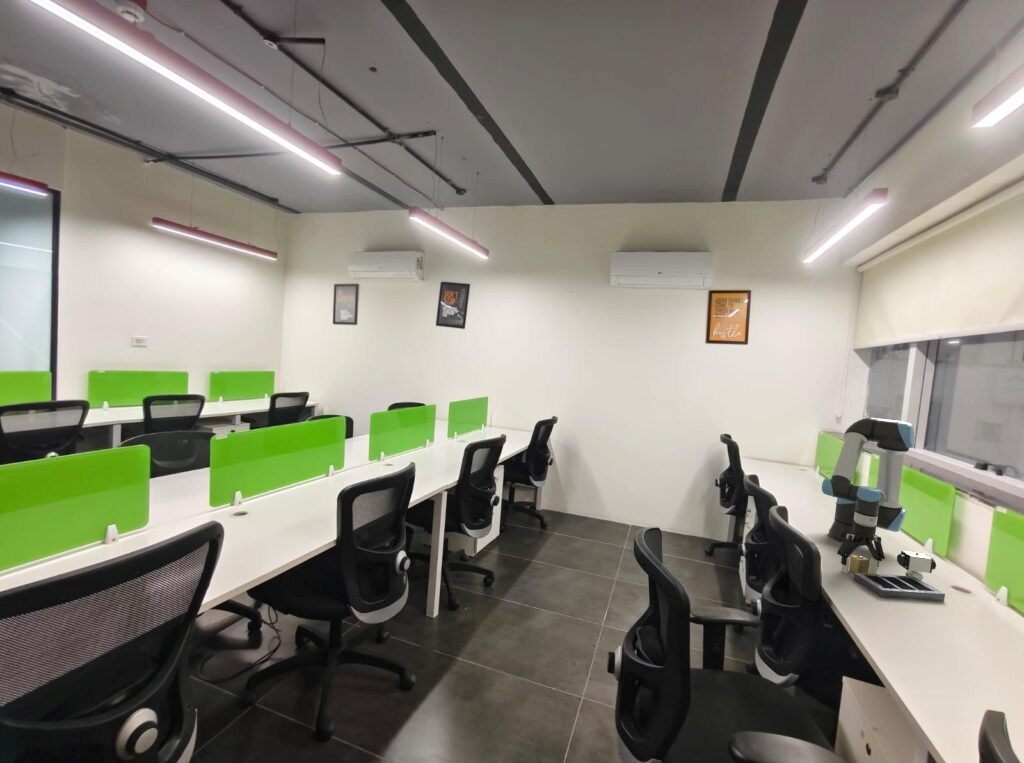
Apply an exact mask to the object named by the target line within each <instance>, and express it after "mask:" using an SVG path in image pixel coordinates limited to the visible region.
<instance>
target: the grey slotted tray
mask: <svg viewBox="0 0 1024 763" xmlns="http://www.w3.org/2000/svg"><path fill="white" fill-rule="evenodd" d="M853 581H855V582H856V583H858V584H860V585H861V586H862V587H864V588H865V589H867V590H868V591H870V592H872V593H873V594H874V595H876V596H877V595H878V597H879V598H881V597H882V598H883V599H898V600H899V599H900V600H901V599H902V600H916V601H932V602H945V597H946V594H945V593H944V592H942V591H940V590H938V589H937V588H935V587H933V586H932V585H929V584H928V583H926V582H924V581H923V580H919V579H917V578H915V577H913V576H906V575H896V574H895V575H893V574H879V573H878V574H877V573H876V574H871V573H868V574H865V573H853Z"/></svg>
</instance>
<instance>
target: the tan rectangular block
mask: <svg viewBox="0 0 1024 763" xmlns="http://www.w3.org/2000/svg"><path fill="white" fill-rule="evenodd" d="M849 559H850V562H849V569H848V572H850V573H852V574H854V573H865V574H869V573H870V572H869V569H870V562H871V559H870V560H869V559H868V558H866V557H865V556H862V555H860V554H857V555H856V554H851V555H850V558H849Z"/></svg>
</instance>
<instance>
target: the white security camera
mask: <svg viewBox="0 0 1024 763" xmlns="http://www.w3.org/2000/svg"><path fill="white" fill-rule="evenodd" d="M896 562H897V563H898V565H899V566H901V567H902V568H904V569H905V570H906V571H905V574H904V576H913V577H915V578H917V579H919V580H921V581H923V580H924V575H923V574H922V573H925V574H926V573H928V574H932V572H933V570H936V567H937V562H936V561H935V560H934V558H932V557H931V556H929V555H928V554H926V553H919V551H915V552H914V551H913V552H912V551H907V550H906V551H905V550H901V551H900V553H899V554H898V555H897V556H896Z"/></svg>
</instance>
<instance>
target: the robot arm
mask: <svg viewBox="0 0 1024 763" xmlns="http://www.w3.org/2000/svg"><path fill="white" fill-rule="evenodd" d="M845 430H846V431H844V434H843V439H844V442H843V444H842V447H841V450H840V452H839V456H838V458H837V460H836V464H835V466H834V468H833V471H832V475H831V477H830V478H824V479H823V481H822V484H821V493H823V494H824V495H826V496H830V497H833V498H836V502H835V511H834V519H833V523H832V524H831V527H830V528H829V529H828V534H827V535H828V536H829V537H830V538H832V539H834V540H835V541H839V542H841V544H840V546H839V548H838V550H837V552H836V554H837V555H839V556H840V557H841V559H840V560H841V561H840V564H841V571H842V572H843V573H845V574H847V575H848V574H849V567H850V559H851V558H849V557H851V555H853V553H854V552H855V551H856V549H857V548H859V547H860V546H863V547H864V546H865V547H867V549H868V551H869V552H870V555H871V556H872V557H871V558H870V564H869V572H868V573H869V574H877V571H878V567H879V566H880V562H882V561H883V560H885V558H886V556H885V553H884V549H883V545H882V537H881V536H879V535H876V533H877V529H878V528H879V529H881V530H885V531H890V532H894V533H896V532H899V531H900V530H901V529H902V527H903V523H904V520H905V518H906V515H907V514H906V513H907V510H906V509H904V508H903V504H902V503H901V502H900V501H899V500H900V494H901V492H900V491H901V483H902V474H903V466H904V456H905V454H906V453H908V452H909V451H910V450H909V449H913V448H914V446H915V429H914V427H913V425H912V423H910V422H905V421H901V420H892V419H885V418H884V419H883V418H876V417H865V418H861V419H859V420H857V421H855V422H853V423H852V424H851V425H849V427H848V428H847V429H845ZM869 442H871V443H876V447H877V448H878V450H880V451H879V460H878V462H879V463H878V468H877V469H878V470H877V481H876V487H874V486H864V485H863V486H862V485H858V484H857V485H856V484H852V481H853V478H854V475H855V472H856V470H857V467H858V464H859V461H860V458H861V455H862V452H863V450H864V447H865V446H867V445H868V443H869Z"/></svg>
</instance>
